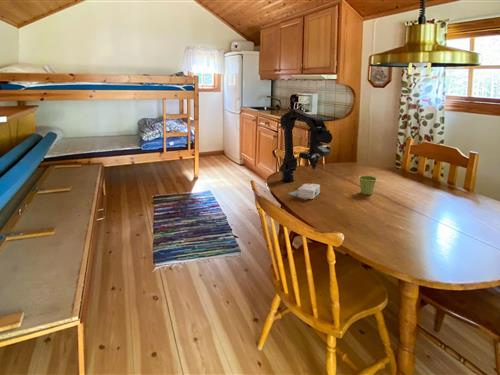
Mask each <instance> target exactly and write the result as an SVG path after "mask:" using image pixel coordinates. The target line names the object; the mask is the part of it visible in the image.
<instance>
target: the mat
mask: <svg viewBox="0 0 500 375" xmlns="http://www.w3.org/2000/svg"><path fill="white" fill-rule="evenodd" d="M287 195H289V196H293V197H295V198H298V199H301V200H305V201H306V200H309V198H302V197H298V189H297V190H294V191H291V192H288V193H287ZM318 196H319V194H318V195H316V196H315V197H318Z"/></svg>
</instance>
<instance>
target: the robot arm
mask: <svg viewBox="0 0 500 375" xmlns="http://www.w3.org/2000/svg"><path fill="white" fill-rule="evenodd" d="M298 120H299V121H301V122H304V123H305V124H306V126H307V127H309V128H308V129H307V131H306V132H309V141H308V142H307V145H308V146H309V149H307V151H300V152H299V154H298V156H297V157H298V158H299V159H303V160H308V162H309V164H310V166H311V169H312V170H315V169H316V167H317V165H318V163H319V160H320V159H322V158H324V157H328V155H330V153H331V146H330V145H329V144H330V143H331V142H332V141H333V134H332V133H331V132H330V130H329V129H328V128H327V125H326V123H325V121H324V118H323V117H322V116H320V115H318V116H317V115H311V114H308V113H306V112H304V111H302V110H300V109H298V108H293V109H291V110H289V111H288V112H286V113H284V114H283V115H281V117H280V120H279V122H280V128H282V130H283V136H284V138H283V140H284V142H283V143H284V157H283V159H282V163H281V165H280V166H279V172H282V174H281V178H280V182H281V181H282V182H283V183H291V182H294V181H295V179H294V172H295V171H296V170H297V167H298V158H297V157H296V156H295V155H294V154H295V153H294V139H293V138H294V137H293V130H294V128H295V126H296V121H298ZM323 144H327V145H326V146H323Z"/></svg>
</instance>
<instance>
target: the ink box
mask: <svg viewBox="0 0 500 375" xmlns="http://www.w3.org/2000/svg"><path fill="white" fill-rule="evenodd" d="M297 190H298V197H302V198H309V199H310V200H313V199H315V198H316V197H317V196H316V195H318V196H319V194H320V192H321V184H317V183H309V182H308V183H307V182H305V183H304V184H302V185H301V186H300V187H298V188H297ZM298 197H297V198H298ZM309 199H308V200H309Z"/></svg>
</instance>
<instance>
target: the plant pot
mask: <svg viewBox="0 0 500 375" xmlns="http://www.w3.org/2000/svg"><path fill="white" fill-rule="evenodd" d="M358 179H359V184H360V185H359V187H360V194H363V195H373V193H374V188H375V185H376V181H377V180H378V178H377V177H375V176H372V175H359V176H358Z"/></svg>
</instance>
